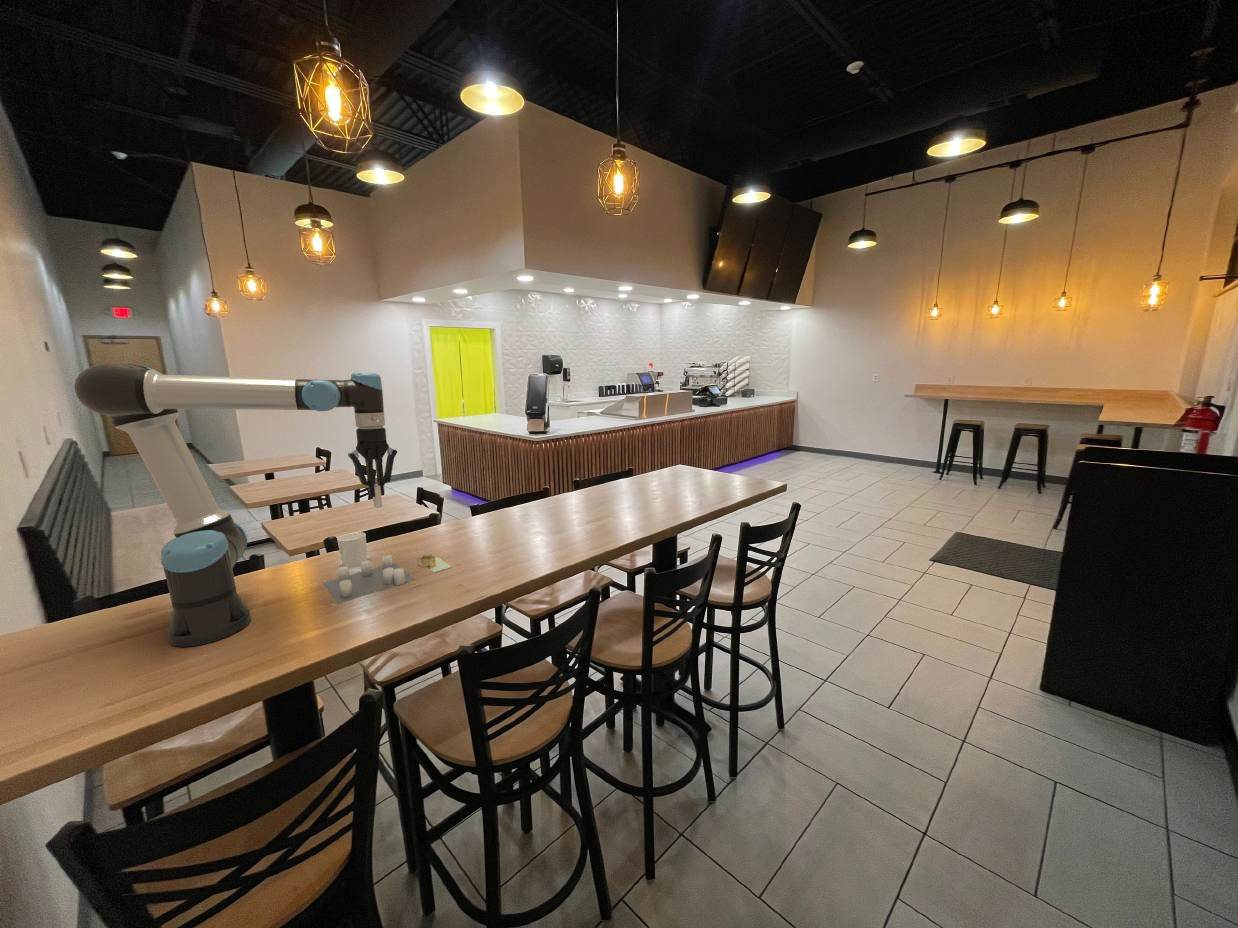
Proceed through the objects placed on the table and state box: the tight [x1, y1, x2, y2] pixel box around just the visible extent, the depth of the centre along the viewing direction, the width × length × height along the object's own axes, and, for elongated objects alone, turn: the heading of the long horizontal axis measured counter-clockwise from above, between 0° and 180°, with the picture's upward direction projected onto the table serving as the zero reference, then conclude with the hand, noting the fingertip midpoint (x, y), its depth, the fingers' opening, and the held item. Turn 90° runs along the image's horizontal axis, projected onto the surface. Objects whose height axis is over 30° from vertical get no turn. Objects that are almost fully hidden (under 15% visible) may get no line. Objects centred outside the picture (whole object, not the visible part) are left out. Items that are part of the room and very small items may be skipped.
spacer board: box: [322, 554, 416, 604], centre depth 136 cm, size 20×18×5 cm
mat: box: [430, 557, 453, 574], centre depth 147 cm, size 12×11×1 cm
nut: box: [417, 554, 436, 570], centre depth 148 cm, size 4×5×3 cm
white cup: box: [336, 531, 368, 568], centre depth 150 cm, size 8×8×10 cm
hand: (378, 506), depth 139 cm, fingers closed
